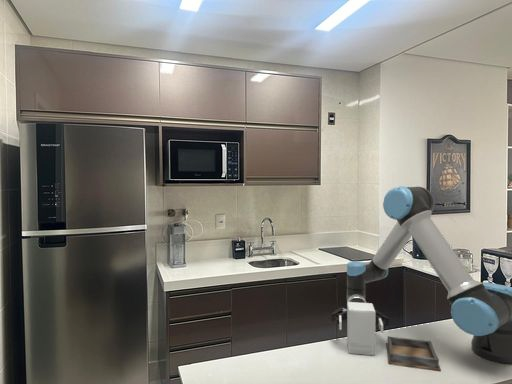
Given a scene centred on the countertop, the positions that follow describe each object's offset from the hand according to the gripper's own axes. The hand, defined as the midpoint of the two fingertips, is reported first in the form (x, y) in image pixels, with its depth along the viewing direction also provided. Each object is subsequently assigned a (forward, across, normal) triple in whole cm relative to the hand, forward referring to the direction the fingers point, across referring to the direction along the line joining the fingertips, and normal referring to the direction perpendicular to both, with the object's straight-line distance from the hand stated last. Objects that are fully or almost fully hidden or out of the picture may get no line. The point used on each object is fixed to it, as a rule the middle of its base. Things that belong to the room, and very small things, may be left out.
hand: (361, 327), depth 121 cm
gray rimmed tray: (0, -16, -8) cm, 18 cm away
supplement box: (-3, 0, -9) cm, 9 cm away
